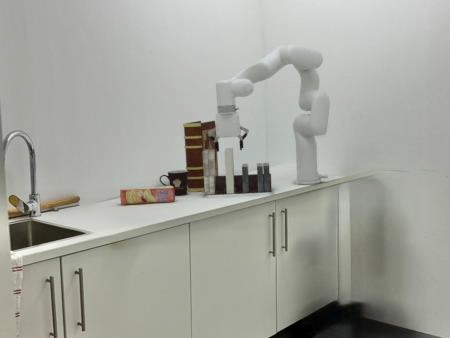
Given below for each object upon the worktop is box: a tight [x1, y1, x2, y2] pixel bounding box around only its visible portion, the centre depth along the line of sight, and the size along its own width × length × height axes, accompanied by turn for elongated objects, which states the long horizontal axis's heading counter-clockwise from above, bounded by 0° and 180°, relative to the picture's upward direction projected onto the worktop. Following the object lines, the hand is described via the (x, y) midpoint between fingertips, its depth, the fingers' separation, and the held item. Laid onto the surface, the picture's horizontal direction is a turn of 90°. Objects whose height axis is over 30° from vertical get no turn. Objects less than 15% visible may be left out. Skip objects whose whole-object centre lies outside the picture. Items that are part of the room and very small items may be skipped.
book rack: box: [203, 149, 273, 197], centre depth 263 cm, size 28×14×19 cm, turn 94°
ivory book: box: [224, 147, 235, 195], centre depth 262 cm, size 3×11×18 cm, turn 4°
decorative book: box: [182, 120, 219, 193], centre depth 282 cm, size 22×8×30 cm, turn 168°
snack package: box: [119, 185, 176, 206], centre depth 249 cm, size 21×7×7 cm, turn 99°
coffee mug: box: [159, 169, 188, 197], centre depth 267 cm, size 12×9×10 cm
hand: (229, 150), depth 261 cm, fingers open, 9 cm apart
